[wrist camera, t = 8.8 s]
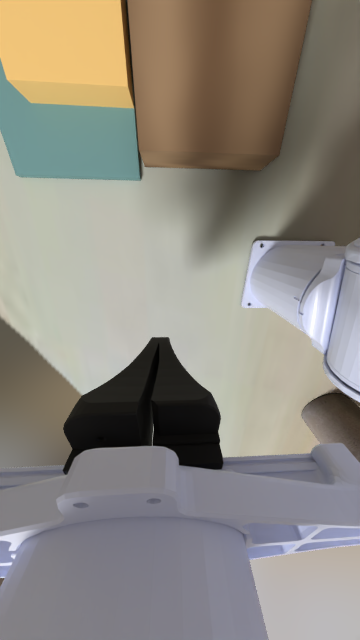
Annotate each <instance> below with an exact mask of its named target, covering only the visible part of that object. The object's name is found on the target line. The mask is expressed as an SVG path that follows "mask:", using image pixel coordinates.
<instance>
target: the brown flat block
mask: <svg viewBox="0 0 360 640" xmlns="http://www.w3.org/2000/svg"><path fill="white" fill-rule="evenodd" d="M127 1H128V14H129V27H130V40H131V53H132V66H133V79H134V92H135V105H136V118H137V131H138V144H139V152H140V154H141V157H142V160H143V163H144V165H145V167H166V168H197V169H228V170H262V169H263V168H264V167H265V166H267V165H268V164H269V163H270V162H271V161H273V160H274V159H275V158H276V157H278V156H279V154H280V149H281V144H282V140H283V135H284V130H285V126H286V121H287V116H288V111H289V107H290V102H291V97H292V93H293V88H294V83H295V79H296V74H297V69H298V64H299V60H300V55H301V50H302V46H303V41H304V36H305V32H306V27H307V22H308V17H309V13H310V8H311V3H312V0H127Z"/></svg>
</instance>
